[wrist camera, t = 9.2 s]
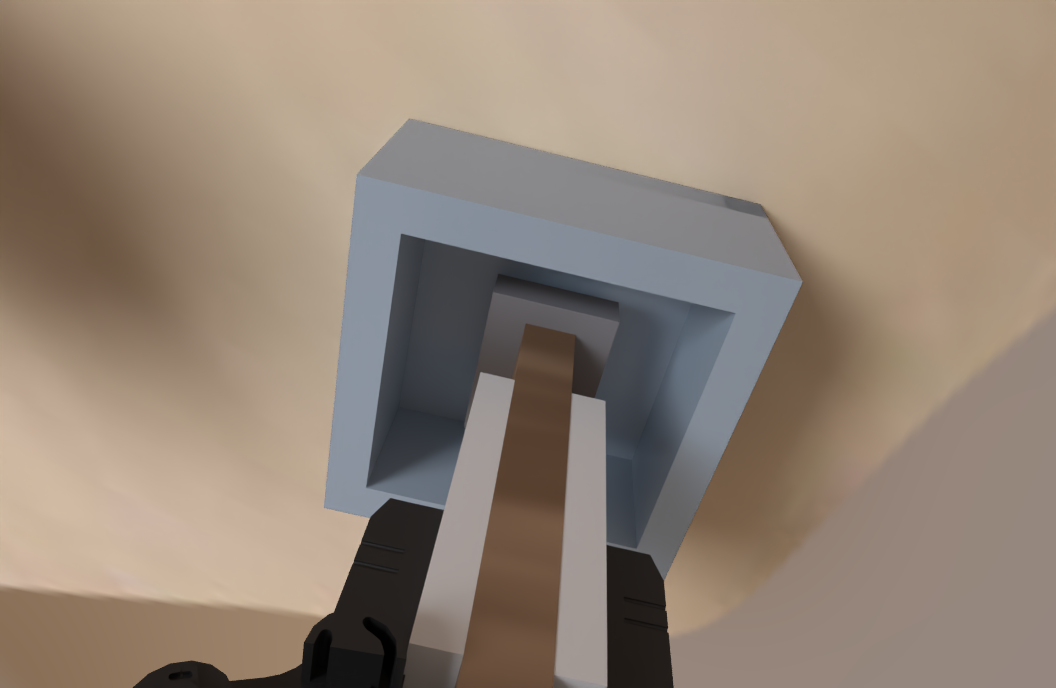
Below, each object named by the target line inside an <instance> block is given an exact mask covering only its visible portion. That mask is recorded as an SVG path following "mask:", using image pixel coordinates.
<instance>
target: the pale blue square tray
mask: <svg viewBox="0 0 1056 688" xmlns="http://www.w3.org/2000/svg"><path fill="white" fill-rule="evenodd" d="M498 274H502V275H506V276H510V277H514V278H518V279H523V280H527V281H531V282H535V283H539V284H544V285H548V286H552V287H556V288H560V289H565V290H569V291H573V292H577V293H582V294H586V295H590V296H594V297H598V298H603V299H607V300H611V301H615V302H619V325H618V328H617V331H616V334H615V337H614V340H613V343H612V346H611V350H610V353H609V356H608V359H607V362H606V365H605V368H604V371H603V374H602V377H601V380H600V383H599V386H598V389H597V392H596V395H595V399H599V400H603V401H605V414H606V545H609V546H614V547H618V548H623V549H627V550H632V551H636V552H640V553H645V554H649V555H651V557H652V559H653V561H654V563H655V565H656V567H657V568H658V570H659V572H660V574H661V576H662V578H663V580H664V579H665V577H666V575H667V573H668V571H669V569H670V567H671V564H672V562H673V560H674V558H675V556H676V554H677V552H678V549H679V547H680V545H681V543H682V541H683V539H684V536H685V534H686V532H687V530H688V528H689V526H690V524H691V521H692V519H693V517H694V515H695V513H696V511H697V508H698V506H699V504H700V502H701V500H702V498H703V496H704V493H705V491H706V489H707V487H708V485H709V483H710V481H711V478H712V476H713V474H714V472H715V470H716V468H717V465H718V463H719V461H720V459H721V457H722V455H723V453H724V450H725V448H726V446H727V444H728V442H729V440H730V437H731V435H732V433H733V431H734V429H735V427H736V425H737V422H738V420H739V418H740V416H741V414H742V412H743V410H744V407H745V405H746V403H747V401H748V399H749V397H750V394H751V392H752V390H753V388H754V386H755V384H756V382H757V379H758V377H759V375H760V373H761V371H762V369H763V367H764V364H765V362H766V360H767V358H768V356H769V354H770V351H771V349H772V347H773V345H774V343H775V341H776V339H777V336H778V334H779V332H780V330H781V328H782V326H783V323H784V321H785V319H786V317H787V315H788V313H789V311H790V308H791V306H792V304H793V302H794V300H795V298H796V296H797V293H798V291H799V289H800V287H801V285H802V283H803V281H802V279H801V277H800V276H799V274H798V272H797V270H796V268H795V267H794V265H793V263H792V261H791V259H790V257H789V256H788V254H787V252H786V250H785V248H784V247H783V245H782V243H781V241H780V239H779V237H778V236H777V234H776V232H775V230H774V228H773V227H772V225H771V223H770V221H769V219H768V217H767V216H766V214H765V212H764V210H763V208H762V207H761V205H760V204H757V203H753V202H749V201H745V200H741V199H736V198H732V197H728V196H724V195H720V194H716V193H712V192H708V191H704V190H700V189H695V188H691V187H687V186H683V185H679V184H675V183H671V182H667V181H663V180H659V179H655V178H650V177H646V176H642V175H638V174H634V173H630V172H626V171H622V170H618V169H614V168H610V167H605V166H601V165H597V164H593V163H589V162H585V161H581V160H577V159H573V158H569V157H565V156H560V155H556V154H552V153H548V152H544V151H540V150H536V149H532V148H528V147H524V146H519V145H515V144H511V143H507V142H503V141H499V140H495V139H491V138H487V137H483V136H479V135H474V134H470V133H466V132H462V131H458V130H454V129H450V128H446V127H442V126H438V125H434V124H429V123H425V122H421V121H417V120H413V119H409V120H408V121H407V122H406V123H405V124H404V125H403V126H402V127H401V128H400V129H399V130H398V131H397V132H396V133H395V134H394V135H393V137H392V138H391V139H390V140H389V141H388V142H387V143H386V144H385V145H384V146H383V147H382V148H381V149H380V150H379V151H378V152H377V154H376V155H375V156H374V157H373V158H372V159H371V160H370V161H369V162H368V163H367V164H366V165H365V166H364V167H363V168H362V169H361V170H360V172H359V173H358V174H357V178H356V188H355V198H354V208H353V218H352V228H351V238H350V249H349V259H348V269H347V279H346V289H345V299H344V310H343V320H342V330H341V340H340V350H339V360H338V370H337V381H336V391H335V401H334V411H333V421H332V431H331V441H330V452H329V462H328V472H327V482H326V492H325V502H324V508H327V509H332V510H336V511H341V512H345V513H349V514H354V515H358V516H363V517H367V518H370V517H371V516H372V515H373V514H374V513H375V512H376V511H377V510H378V509H379V508H380V507H381V506H382V505H383V504H384V503H386V502H387V501H388V500H389V499H390V498H393V499H397V500H402V501H406V502H411V503H415V504H419V505H424V506H428V507H433V508H437V509H442V510H444V509H445V505H446V501H447V497H448V493H449V490H450V486H451V482H452V478H453V475H454V471H455V467H456V463H457V459H458V456H459V452H460V448H461V444H462V441H463V437H464V433H465V429H466V427H464V423H465V418H466V414H467V409H468V404H469V400H470V395H471V391H472V386H473V382H474V377H475V372H476V368H477V363H478V359H479V354H480V349H481V345H482V340H483V336H484V331H485V327H486V322H487V317H488V313H489V308H490V304H491V299H492V294H493V290H494V287H495V283H496V280H497V277H498Z"/></svg>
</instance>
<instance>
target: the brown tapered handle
mask: <svg viewBox="0 0 1056 688" xmlns="http://www.w3.org/2000/svg"><path fill="white" fill-rule="evenodd" d="M618 325H619V302H615V301H611V300H607V299H603V298H598V297H594V296H590V295H586V294H582V293H577V292H573V291H569V290H565V289H560V288H556V287H552V286H548V285H544V284H539V283H535V282H531V281H527V280H523V279H518V278H514V277H510V276H506V275H502V274H498V277H497V280H496V283H495V287H494V290H493V294H492V299H491V304H490V308H489V313H488V317H487V322H486V327H485V331H484V336H483V340H482V345H481V349H480V354H479V359H478V363H477V368H476V372H475V377H474V382H473V386H472V391H471V395H470V400H469V404H468V409H467V414H466V418H465V423H464V427H466V425H467V422H468V418H469V414H470V410H471V407H472V403H473V399H474V395H475V391H476V388H477V384H478V380H479V376H480V373H481V372H483V373H487V374H491V375H496V376H500V377H504V378H509V379H513V380H515V382H514V388H513V393H512V398H511V404H510V409H509V414H508V420H507V425H506V430H505V436H504V441H503V446H502V452H501V457H500V462H499V468H498V473H497V478H496V484H495V489H494V494H493V500H492V505H491V510H490V516H489V521H488V527H487V532H486V537H485V543H484V548H483V553H482V559H481V564H480V569H479V575H478V580H477V585H476V591H475V596H474V601H473V607H472V612H471V617H470V623H469V628H468V633H467V639H466V644H465V649H464V655H463V658H462V662H461V666H460V669H459V673H458V677H457V680H456V684H455V688H553V680H554V664H555V648H556V632H557V616H558V601H559V585H560V569H561V553H562V537H563V522H564V506H565V490H566V474H567V458H568V442H569V427H570V411H571V395H572V393H573V394H578V395H582V396H586V397H590V398H595V395H596V392H597V389H598V386H599V383H600V380H601V377H602V374H603V371H604V368H605V365H606V362H607V359H608V356H609V353H610V350H611V346H612V343H613V340H614V337H615V334H616V331H617V328H618Z"/></svg>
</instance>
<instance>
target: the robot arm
mask: <svg viewBox="0 0 1056 688" xmlns="http://www.w3.org/2000/svg"><path fill="white" fill-rule="evenodd" d="M514 382H515V380H513V379H509V378H504V377H500V376H496V375H491V374H487V373H483V372H481V373H480V376H479V380H478V384H477V388H476V391H475V395H474V399H473V403H472V407H471V410H470V414H469V418H468V422H467V425H466V429H465V433H464V437H463V441H462V444H461V448H460V452H459V456H458V459H457V463H456V467H455V471H454V475H453V478H452V482H451V486H450V490H449V493H448V497H447V501H446V505H445V509H444V510H442V509H437V508H433V507H428V506H424V505H419V504H415V503H411V502H406V501H402V500H397V499H393V498H390V499H389V500H388V501H387V502H386V503H384V504H383V505H382V506H381V507H380V508H379V509H378V510H377V511H376V512H375V513H374V514H373V515H372V516H371V517H370V520H369V522H368V525H367V528H366V530H365V533H364V535H363V538H362V541H361V545H360V546H359V548H358V551H357V554H356V556H355V559H354V563H353V565H352V567H351V569H350V572H349V575H348V577H347V580H346V582H345V585H344V588H343V590H342V593H341V595H340V598H339V601H338V603H337V606H336V608H335V611H334V613H331V614H329V615H327V616H326V617H325V618H323V619H322V620H321V621H320V622H318V623H317V624H316V625H314V626H313V628H312V630H311V631H310V633H309V635H308V637H307V638H306V640H305V642H304V649H303V660H302V664H301V665H299V666H298V667H296V668H294V669H292V670H290V671H287V672H285V673H283V674H280V675H275V676H270V677H265V678H255V679H246V680H236V681H229V680H228V678H227V676H226V675H225V674H224V673H223V672H221V671H220V670H218V669H217V668H215V667H214V666H213V665H211V664H206V663H201V662H196V661H186V662H179V663H171V664H168V665H166V666H164V667H162V668H160V669H158V670H155V671H153V672H151V673H149V674H148V675H147V676H146V677H144V678H143V679H142V680H141V681H140V682H139V683H138V684H136V685H135V686H134V687H133V688H455V684H456V680H457V677H458V673H459V669H460V666H461V662H462V658H463V655H464V649H465V644H466V639H467V633H468V628H469V623H470V617H471V612H472V607H473V601H474V596H475V591H476V585H477V580H478V575H479V569H480V564H481V559H482V553H483V548H484V543H485V537H486V532H487V527H488V521H489V516H490V510H491V505H492V500H493V494H494V489H495V484H496V478H497V473H498V468H499V462H500V457H501V452H502V446H503V441H504V436H505V430H506V425H507V420H508V414H509V409H510V404H511V398H512V393H513V388H514ZM665 608H666V601H665V590H664V580H663V578H662V576H661V574H660V572H659V570H658V568H657V567H656V565H655V563H654V561H653V559H652V557H651V555H649V554H645V553H640V552H636V551H632V550H627V549H623V548H618V547H614V546H609V545H606V414H605V401H603V400H599V399H595V398H590V397H586V396H582V395H578V394H573V393H572V395H571V411H570V427H569V442H568V458H567V474H566V490H565V506H564V522H563V537H562V553H561V569H560V585H559V601H558V616H557V632H556V648H555V664H554V680H553V688H673V676H672V666H671V655H670V644H669V633H667V629H668V622H667V612H666V611H665Z"/></svg>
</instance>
